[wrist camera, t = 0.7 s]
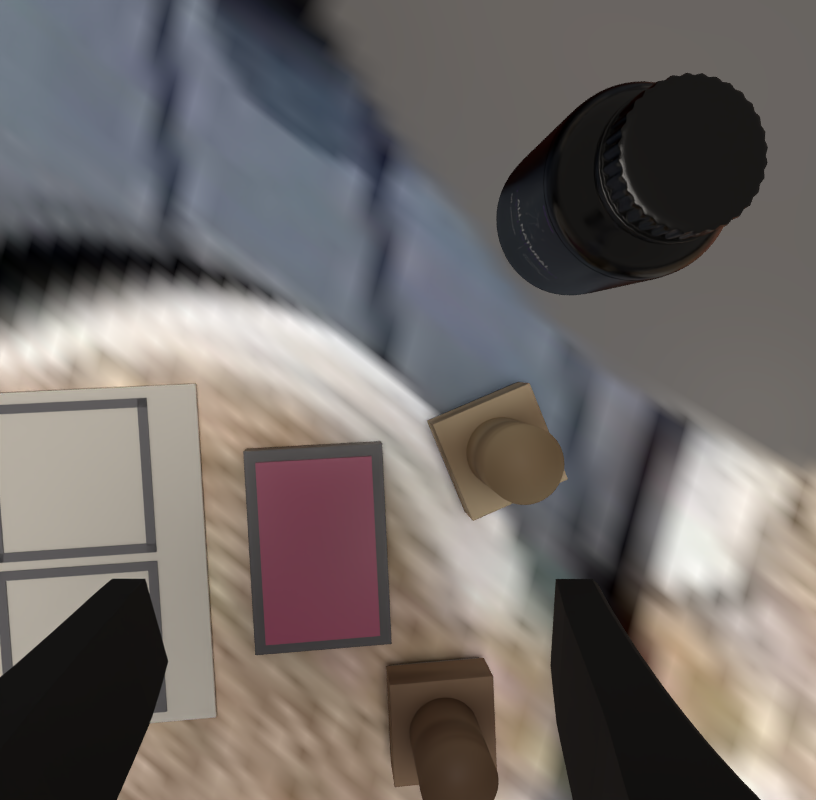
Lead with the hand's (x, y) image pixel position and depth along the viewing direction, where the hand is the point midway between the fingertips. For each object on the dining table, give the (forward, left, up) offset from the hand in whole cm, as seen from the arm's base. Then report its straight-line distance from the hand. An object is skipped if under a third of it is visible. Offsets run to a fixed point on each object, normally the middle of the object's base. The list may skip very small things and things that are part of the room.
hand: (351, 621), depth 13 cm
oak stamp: (0, -7, -21) cm, 22 cm away
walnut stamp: (-12, -4, -21) cm, 24 cm away
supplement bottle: (+10, -11, -21) cm, 26 cm away
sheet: (-4, +12, -20) cm, 24 cm away
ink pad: (-4, +1, -20) cm, 21 cm away
